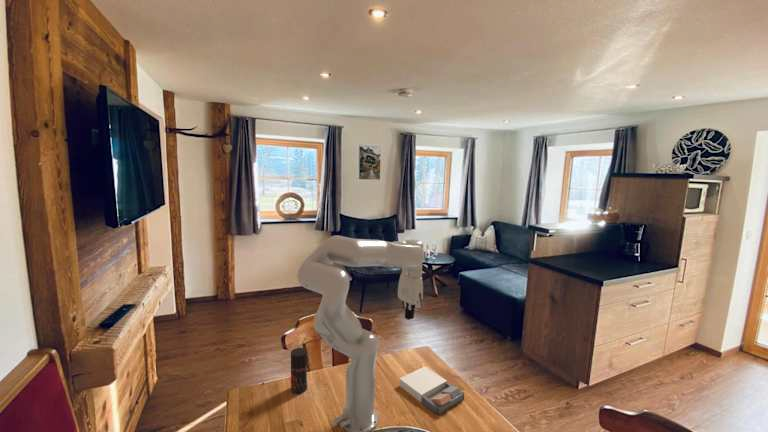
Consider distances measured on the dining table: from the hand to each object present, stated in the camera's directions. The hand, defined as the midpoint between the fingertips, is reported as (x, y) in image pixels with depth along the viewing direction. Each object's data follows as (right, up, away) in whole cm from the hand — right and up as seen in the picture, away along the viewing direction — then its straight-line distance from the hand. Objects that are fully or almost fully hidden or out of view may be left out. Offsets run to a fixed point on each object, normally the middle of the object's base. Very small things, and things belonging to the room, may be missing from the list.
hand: (409, 318), depth 131 cm
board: (+5, -27, +1) cm, 27 cm away
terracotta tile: (+10, -25, -10) cm, 29 cm away
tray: (+12, -28, -7) cm, 31 cm away
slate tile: (+15, -25, -6) cm, 29 cm away
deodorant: (-42, -26, -3) cm, 50 cm away
